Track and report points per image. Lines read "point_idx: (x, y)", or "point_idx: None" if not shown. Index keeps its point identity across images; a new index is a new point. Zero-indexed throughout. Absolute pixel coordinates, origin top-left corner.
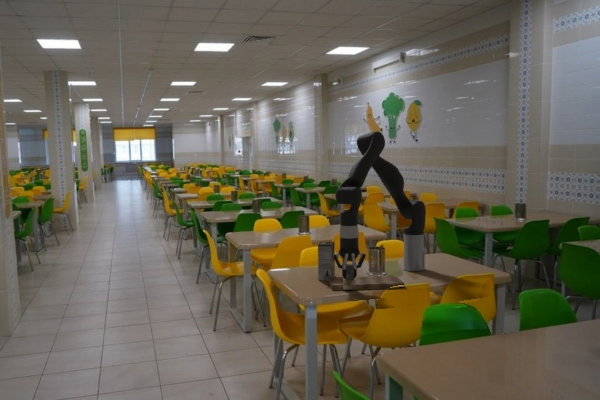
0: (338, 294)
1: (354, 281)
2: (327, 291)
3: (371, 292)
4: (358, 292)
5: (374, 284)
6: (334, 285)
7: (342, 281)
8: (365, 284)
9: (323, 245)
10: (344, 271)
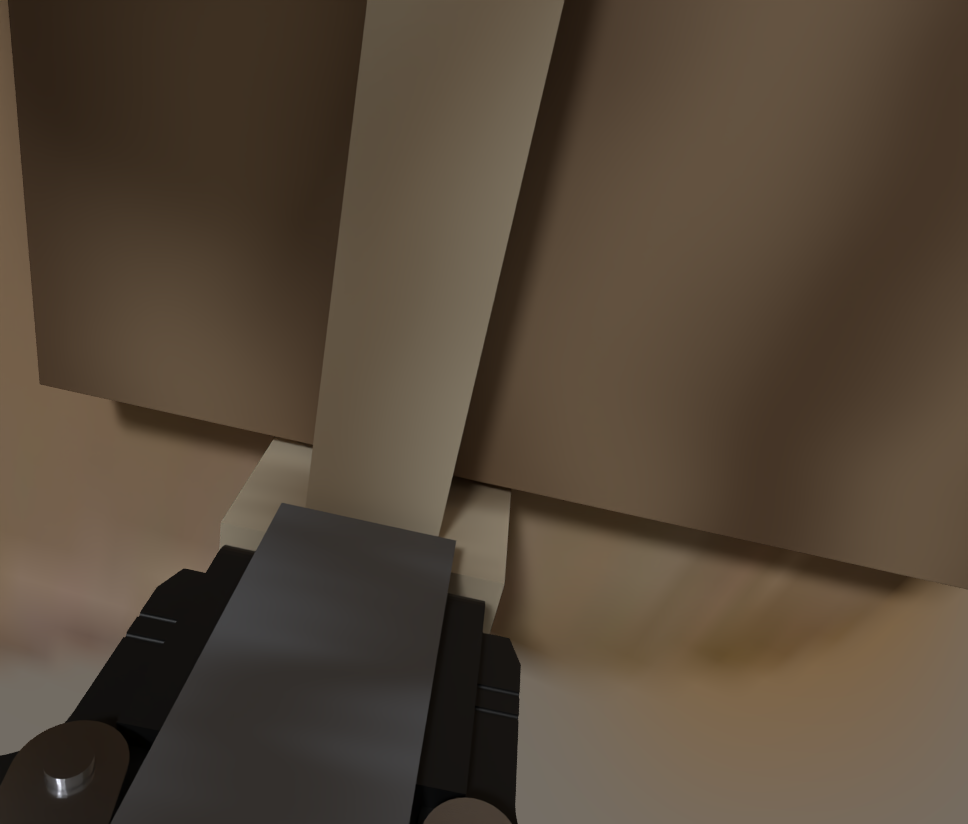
0: None
1: None
2: (9, 392)
3: (683, 653)
4: None
5: (889, 566)
6: (94, 395)
7: (330, 130)
8: (717, 531)
9: None
10: None
